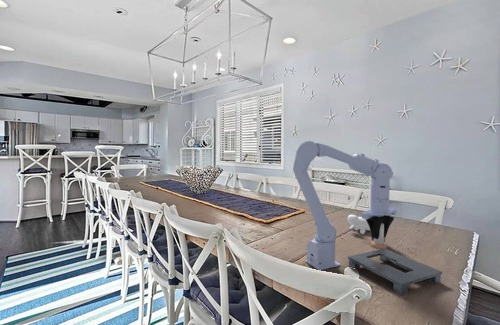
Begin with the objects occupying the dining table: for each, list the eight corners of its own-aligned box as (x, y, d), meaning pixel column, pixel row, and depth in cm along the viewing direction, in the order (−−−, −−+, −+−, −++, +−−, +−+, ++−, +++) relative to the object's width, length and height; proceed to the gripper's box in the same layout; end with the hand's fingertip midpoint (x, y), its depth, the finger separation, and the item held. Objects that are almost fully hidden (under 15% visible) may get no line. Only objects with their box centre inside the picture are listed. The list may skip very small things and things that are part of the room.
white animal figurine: (361, 233, 135) (340, 225, 129) (365, 217, 136) (345, 209, 130) (374, 238, 127) (352, 230, 121) (379, 221, 128) (358, 213, 122)
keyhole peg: (379, 250, 86) (380, 226, 85) (367, 245, 90) (367, 222, 90) (390, 247, 88) (390, 224, 87) (377, 243, 92) (378, 220, 92)
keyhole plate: (401, 296, 72) (402, 284, 71) (347, 266, 90) (348, 256, 90) (441, 282, 79) (442, 271, 79) (384, 257, 97) (384, 248, 97)
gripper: (374, 202, 81) (373, 244, 82) (405, 198, 87) (404, 237, 88) (356, 198, 88) (356, 237, 88) (386, 195, 94) (385, 231, 94)
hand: (378, 237), depth 89 cm, fingers closed on keyhole peg, 3 cm apart
